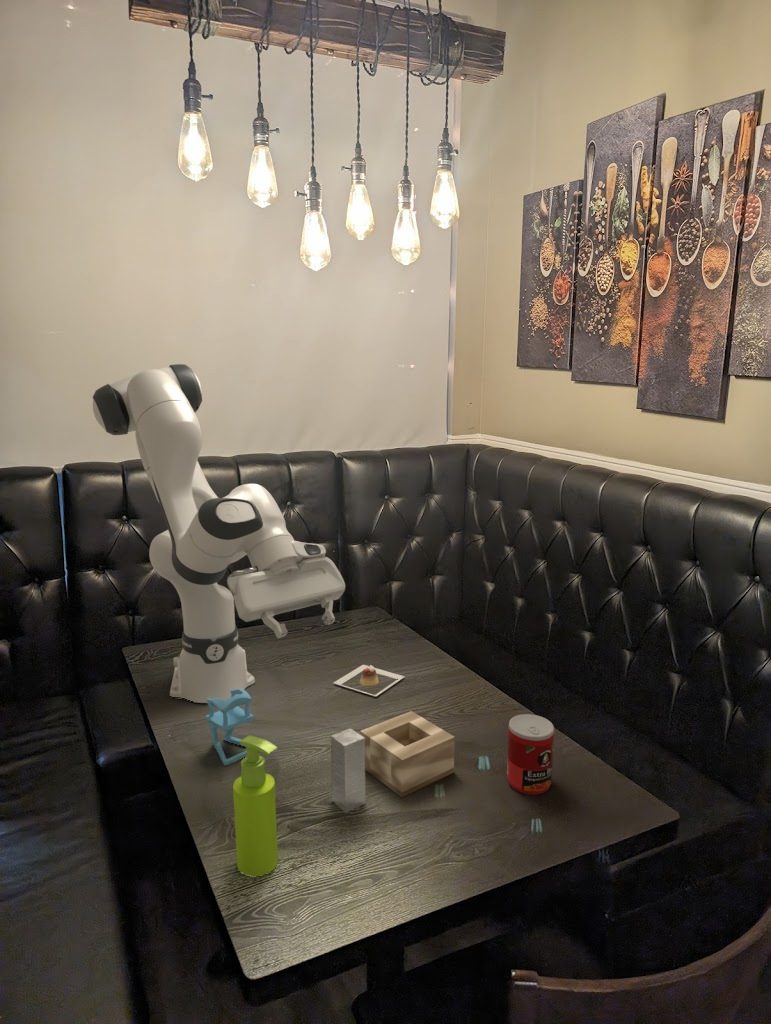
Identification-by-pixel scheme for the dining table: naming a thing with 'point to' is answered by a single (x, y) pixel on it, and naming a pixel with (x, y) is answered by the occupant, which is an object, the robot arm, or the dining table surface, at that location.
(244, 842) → the soap dispenser
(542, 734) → the canned food
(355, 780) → the grey square peg
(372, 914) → the dining table surface
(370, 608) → the dining table surface
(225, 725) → the chair
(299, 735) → the dining table surface
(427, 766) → the frame
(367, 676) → the dessert
